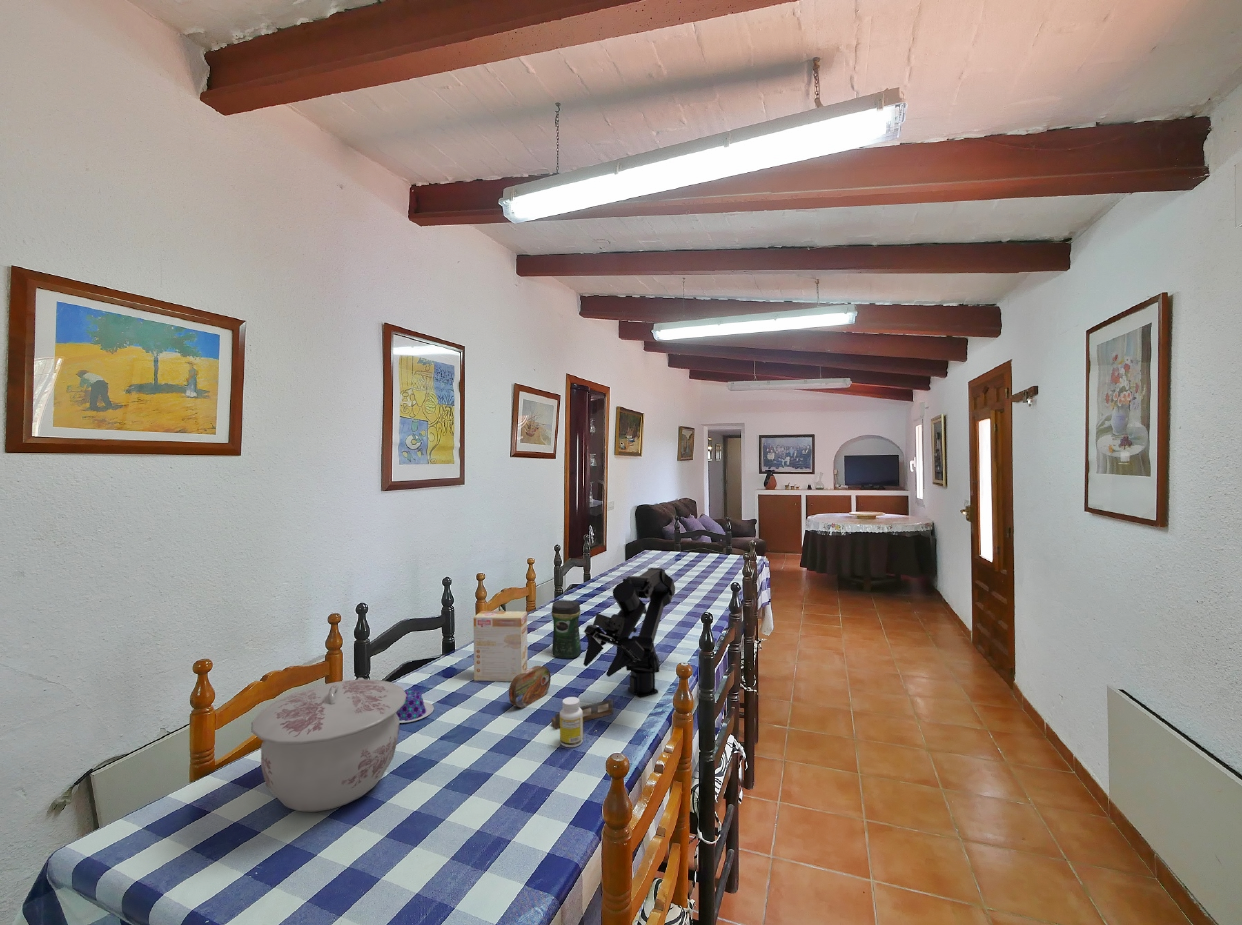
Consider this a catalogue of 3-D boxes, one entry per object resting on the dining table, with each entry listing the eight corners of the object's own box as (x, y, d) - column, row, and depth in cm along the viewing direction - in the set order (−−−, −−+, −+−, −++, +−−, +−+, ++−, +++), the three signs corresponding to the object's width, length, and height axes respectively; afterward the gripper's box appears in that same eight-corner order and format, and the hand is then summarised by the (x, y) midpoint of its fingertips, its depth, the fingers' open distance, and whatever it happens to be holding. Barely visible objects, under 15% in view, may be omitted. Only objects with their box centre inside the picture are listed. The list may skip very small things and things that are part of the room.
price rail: (607, 708, 141) (607, 695, 141) (613, 713, 138) (613, 699, 138) (551, 723, 133) (551, 709, 133) (556, 729, 130) (556, 714, 130)
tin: (515, 713, 139) (515, 680, 139) (506, 710, 141) (506, 678, 141) (551, 691, 152) (551, 662, 152) (543, 689, 154) (543, 660, 154)
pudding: (382, 710, 142) (382, 690, 142) (429, 700, 148) (429, 681, 148) (387, 729, 131) (387, 708, 131) (437, 718, 137) (437, 698, 137)
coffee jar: (583, 652, 184) (583, 598, 184) (575, 660, 176) (575, 604, 176) (558, 649, 187) (557, 597, 187) (548, 657, 179) (548, 602, 179)
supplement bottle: (567, 734, 128) (567, 693, 128) (587, 739, 126) (587, 697, 126) (555, 744, 123) (555, 702, 123) (575, 750, 121) (575, 707, 121)
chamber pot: (298, 858, 88) (297, 734, 88) (223, 803, 103) (223, 696, 103) (437, 774, 112) (436, 676, 112) (360, 739, 126) (360, 652, 126)
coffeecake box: (528, 673, 166) (527, 610, 166) (521, 682, 159) (521, 617, 159) (481, 671, 167) (481, 609, 167) (473, 681, 160) (472, 616, 160)
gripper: (589, 594, 146) (556, 644, 138) (635, 608, 132) (601, 663, 125) (610, 617, 151) (580, 666, 144) (657, 633, 137) (626, 687, 130)
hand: (595, 670), depth 135 cm, fingers open, 9 cm apart
